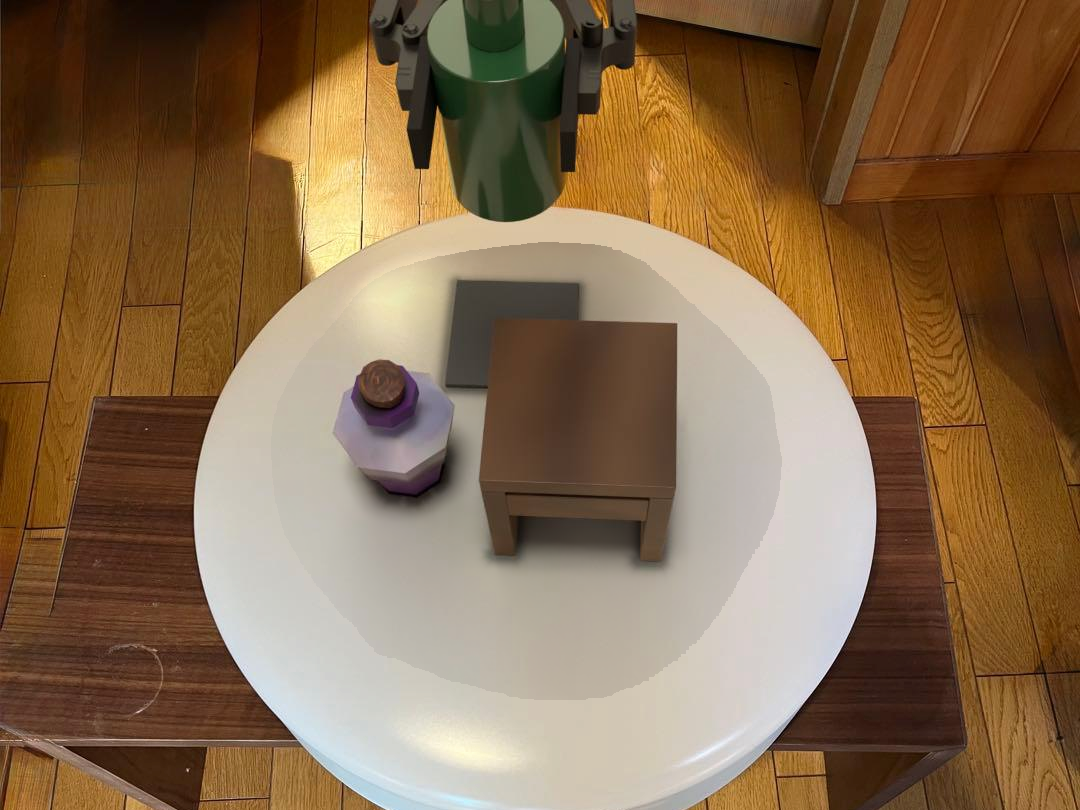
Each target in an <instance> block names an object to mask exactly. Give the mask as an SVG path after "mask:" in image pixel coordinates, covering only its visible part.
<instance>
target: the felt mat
mask: <svg viewBox="0 0 1080 810" xmlns="http://www.w3.org/2000/svg"><path fill="white" fill-rule="evenodd" d="M579 290H580V283H579V282H555V281H554V282H553V281H552V282H549V281H548V282H545V281H515V280H514V281H513V280H511V281H508V280H474V279H473V280H470V279H469V280H468V279H465V280H464V279H457V280H456V287H455V294H454V302H453V303H454V304H453V313H452V321H451V329H450V339H449V346H448V355H447V363H446V372H445V380H444V381H445V382H444V385H445V387H447V388H473V389H474V388H476V389H477V388H478V389H488V379H489V369H490V359H491V348H492V338H493V328H494V319H495V318H512V319H548V320H578V307H579Z"/></svg>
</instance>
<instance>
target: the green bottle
mask: <svg viewBox="0 0 1080 810" xmlns="http://www.w3.org/2000/svg"><path fill="white" fill-rule="evenodd" d="M427 44H428V51H429V57H430V63H431V69H432V75H433V81H434V87H435V93H436V99H437V105H438V106H437V112H438V116H439V122H440V123H439V124H440V129H441V134H442V140H443V146H444V152H445V159H446V164H447V170H448V171H447V172H448V176H449V177H448V178H449V182H450V183H449V184H450V187H451V191H452V193H453V196H454V197H455V199H456V201H457V202H458V203H459V204H460V205H461V206H462V208H464V209H465V210H466V211H468V213H469V212H470V214H472V215H474V216H475V217H479V218H481V219H483V220H486V221H491V222H496V223H516V222H521V221H526V220H529V219H532V218H534V217H537V216H539V215H540V214H543V213H544V212H545V211H547V210H549V209H550V208H551V207H552V206H554V205H555V204H556V202H558V199H559V198H560V197H561V195H562V194H563V191H564V189H565V187H566V185H567V179H568V178H567V177H568V172H561V159H560V123H561V109H562V94H563V79H564V65H565V50H566V39H565V26H564V22H563V19H562V16H561V14H560V12H559V11H558V9H557V7H556V6H555V5H554V4H553V3H552V2H551V1H550V0H447V1H445V2H444V3H443V4H442V5H441V6H440V7H439V8H438V9H437V11H436V12H435V13H434V15H433V17H432V18H431V20H430V23H429V25H428V30H427Z"/></svg>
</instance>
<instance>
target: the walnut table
mask: <svg viewBox="0 0 1080 810" xmlns="http://www.w3.org/2000/svg"><path fill="white" fill-rule="evenodd" d="M485 401H486V402H485V411H484V421H483V432H482V433H483V434H482V443H481V452H480V453H481V454H480V465H479V474H478V476H479V477H478V484H479V488H480V493H481V497H482V501H483V507H484V512H485V516H486V521H487V525H488V529H489V534H490V539H491V543H492V548H493V552H494V555H496V556H497V555H498V556H516V553H517V538H518V526H519V525H518V524H519V517H521V516H522V517H542V518H543V517H544V518H566V519H567V518H570V519H593V520H595V519H596V520H617V521H618V520H619V521H620V520H622V521H640V546H639V547H640V551H639V552H640V553H639V559H640V561H641V562H642V561H644V562H661V561H662V558H663V554H664V549H665V544H666V538H667V534H668V529H669V524H670V518H671V515H672V509H673V504H674V501H675V495H676V490H677V437H678V436H677V435H678V433H677V430H678V429H677V427H678V424H677V423H678V418H677V417H678V323H677V322H655V321H653V322H650V321H620V320H619V321H618V320H615V321H614V320H613V321H612V320H583V319H582V320H581V319H580V320H579V319H577V320H548V319H512V318H495V319H494V328H493V338H492V348H491V359H490V369H489V379H488V388H487V391H486V399H485Z"/></svg>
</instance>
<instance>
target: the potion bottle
mask: <svg viewBox="0 0 1080 810" xmlns="http://www.w3.org/2000/svg"><path fill="white" fill-rule="evenodd" d="M455 408H456V405H455V404H454V403H453V401H452V400H451V398H449V396H448V395H447V394H446V393H445V392H444V390H443V388H442V387H440V385H439V384H438V383H437V381H436V380H435V378H433V377H432V375H431V374H430V373H429V372H423V371H422V372H420V371H413V370H407V369H406V367H405V366H404V365H400V364H396V363H394V362H393V361H391V360H390V359H379V358H378V359H377V360H372V361H370V362H368V363H367V364H365V365H364V366H363V367H362V368H361V371H360V373H359V374H357V375H356V377H355V381H354V384H353V386H351V387H350V388H349V389H346V390H345V391H343V394H342V398H341V401H340V404H339V409H338V412H337V416H336V420H335V423H334V426H333V429H332V435H333V436H334V438H335V439H336V440H337V442H338V443H339V444H340V446H341V447H342V449H344V451H345V453H346V454H347V455H348V456H349V458H350V459H351V460H352V462H353V463H354V465H355V466H356V467H357V468H358V470H360V471H361V472H362V473H363V474H364V475H366V477H368V478H369V479H371V480H376V481H377V482H378V483H379V484H380V485H381V486H382V487H383V489H384V490H385V491H386V493H387V494H388V495H392V496H399V497H407V498H415V499H418V498H419V497H421V496H422V495H424V494H426V493H427V492H428V491H430V490H431V489H433V488H434V487H436V486H438V485H439V484H441V483H442V480H443V475H444V471H445V467H446V461H447V456H446V454H447V450H448V449H447V448H448V444H449V440H450V435H451V430H452V426H453V420H454V413H455Z"/></svg>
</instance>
